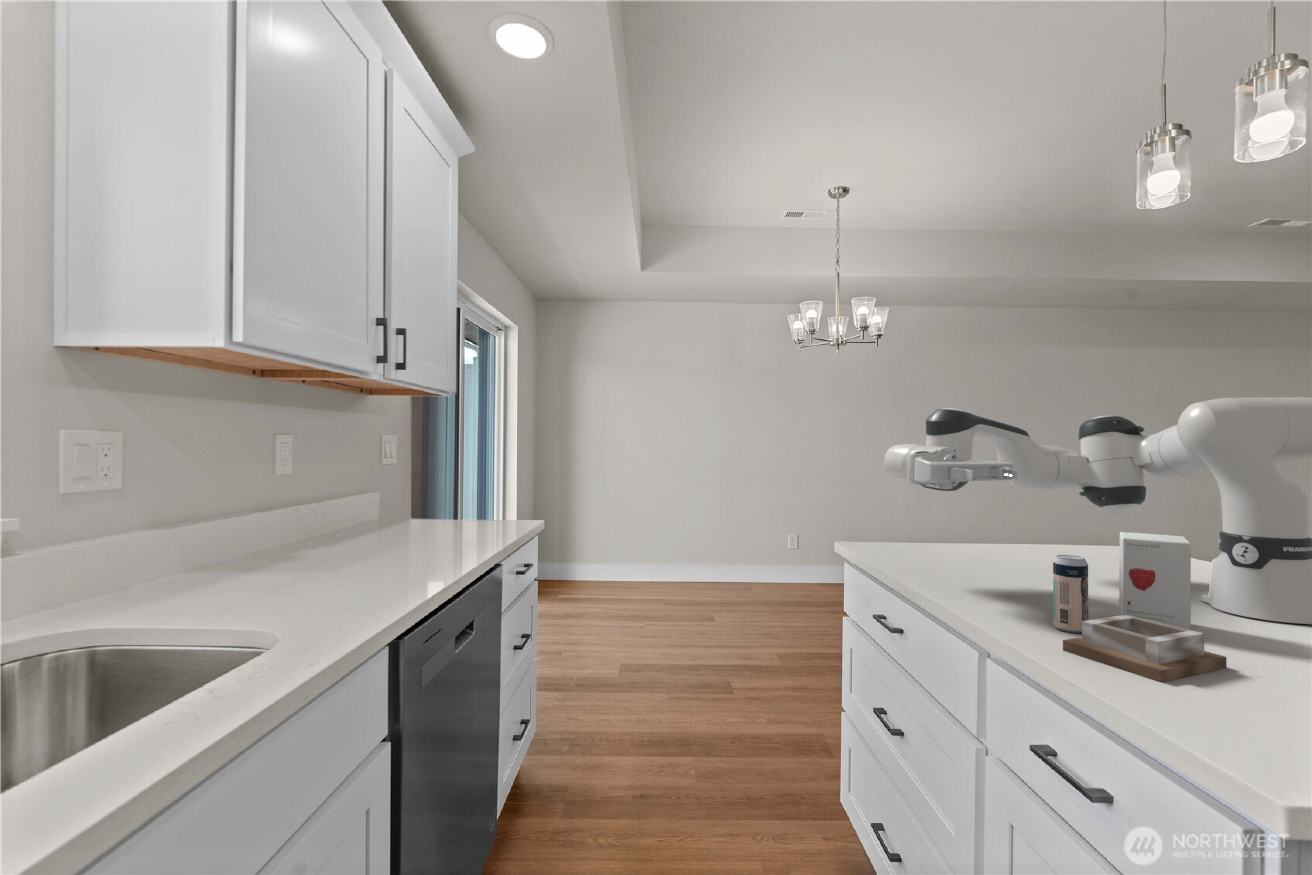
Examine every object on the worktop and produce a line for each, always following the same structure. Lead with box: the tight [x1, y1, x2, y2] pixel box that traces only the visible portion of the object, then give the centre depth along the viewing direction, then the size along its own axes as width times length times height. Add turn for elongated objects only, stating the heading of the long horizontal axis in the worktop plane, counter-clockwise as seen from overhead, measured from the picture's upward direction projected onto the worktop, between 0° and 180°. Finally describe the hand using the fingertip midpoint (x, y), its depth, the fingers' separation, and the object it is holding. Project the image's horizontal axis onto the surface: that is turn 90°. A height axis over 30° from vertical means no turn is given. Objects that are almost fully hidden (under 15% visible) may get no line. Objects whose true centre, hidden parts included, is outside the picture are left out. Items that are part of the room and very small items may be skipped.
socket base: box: [1062, 614, 1228, 683], centre depth 88 cm, size 14×13×4 cm
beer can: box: [1052, 554, 1089, 634], centre depth 101 cm, size 5×5×12 cm
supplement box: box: [1118, 531, 1192, 630], centre depth 104 cm, size 9×9×15 cm
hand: (995, 475), depth 117 cm, fingers open, 8 cm apart
